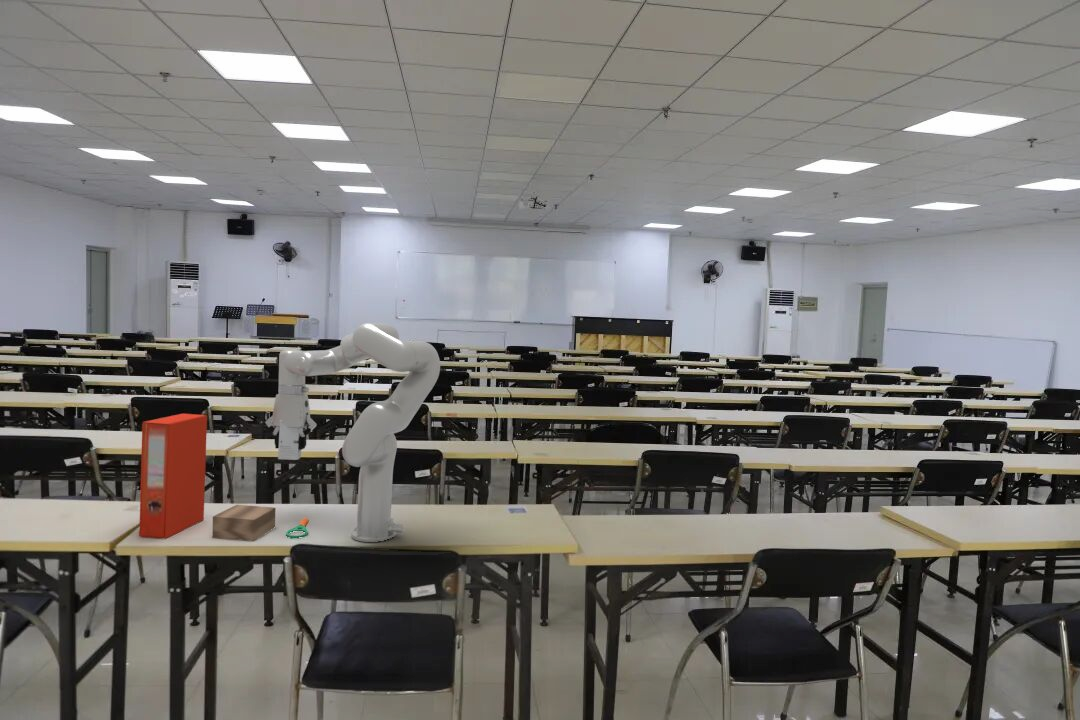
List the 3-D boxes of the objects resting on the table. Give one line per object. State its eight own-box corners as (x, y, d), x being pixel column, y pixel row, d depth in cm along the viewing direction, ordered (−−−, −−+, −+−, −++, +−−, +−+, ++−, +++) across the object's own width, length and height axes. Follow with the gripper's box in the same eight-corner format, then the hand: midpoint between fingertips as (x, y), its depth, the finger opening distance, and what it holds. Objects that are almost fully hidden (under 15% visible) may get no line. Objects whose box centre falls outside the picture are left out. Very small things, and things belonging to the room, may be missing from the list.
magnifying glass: (305, 540, 182) (305, 534, 182) (283, 540, 181) (283, 534, 181) (315, 523, 197) (315, 517, 197) (295, 523, 196) (295, 517, 196)
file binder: (204, 520, 193) (207, 415, 191) (167, 539, 176) (169, 423, 174) (179, 518, 193) (181, 413, 192) (139, 537, 176) (141, 421, 174)
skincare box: (277, 459, 194) (278, 420, 193) (281, 456, 198) (282, 417, 197) (298, 460, 194) (299, 420, 194) (302, 457, 199) (303, 418, 198)
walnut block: (274, 527, 189) (275, 507, 189) (253, 541, 177) (254, 519, 177) (236, 524, 190) (236, 504, 190) (212, 537, 178) (212, 516, 178)
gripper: (324, 390, 198) (322, 447, 199) (270, 387, 200) (269, 444, 201) (313, 393, 191) (312, 452, 192) (258, 390, 192) (256, 448, 193)
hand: (290, 447), depth 196 cm, fingers closed on skincare box, 6 cm apart
